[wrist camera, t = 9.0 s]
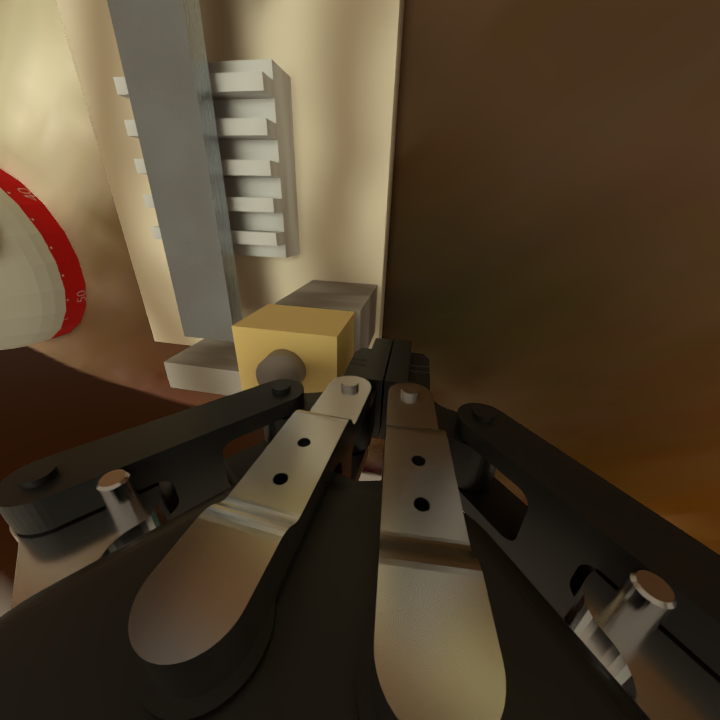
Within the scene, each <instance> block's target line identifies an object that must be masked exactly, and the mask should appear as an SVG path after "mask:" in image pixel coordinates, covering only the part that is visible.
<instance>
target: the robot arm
mask: <svg viewBox="0 0 720 720" xmlns="http://www.w3.org/2000/svg"><path fill="white" fill-rule="evenodd" d="M411 346H412V341H403V340H394V344H393V339H382V338H376V339H375V341H374V344H373V347H372V349H370V348H361V349H359V350H358V351H356V352H355V353H354V355H353V357H352V359H351V361H350V363H349V365H348V367H347V369H346V371H345V373H344V375H343V376H342V377H338V378H336V379H334V380H332V381H331V382H330V383H329V385H328V386H327V388H326V389H325V390H324V391H323V392H314V393H304V387H303V385H302V384H301V383H300V382H298V381H296V380H292V379H278V380H273V381H270V382H267V383H264V384H261V385H258V386H255V387H252V388H249V389H247V390H244V391H241V392H238V393H235V394H232V395H229V396H226V397H223V398H220V399H217V400H214V401H211V402H208V403H205V404H202V405H199V406H196V407H193V408H190V409H188V410H185V411H182V412H179V413H176V414H173V415H170V416H167V417H164V418H161V419H158V420H155V421H152V422H149V423H146V424H143V425H140V426H138V427H134V428H131V429H128V430H125V431H122V432H119V433H117V434H114V435H111V436H108V437H105V438H102V439H99V440H96V441H93V442H90V443H87V444H84V445H81V446H78V447H75V448H72V449H69V450H66V451H63V452H60V453H58V454H55V455H51V456H49V457H46V458H43V459H40V460H37V461H34V462H32V463H30V464H28V465H26V466H24V467H22V468H20V469H18V470H16V471H15V472H13V473H12V474H10V475H9V476H7V477H6V478H5V479H4V480H2V481H1V482H0V514H1V515H2V516H3V518H4V519H5V520H6V522H7V523H8V524H9V526H10V532H11V533H12V535H13V536H14V538H15V539H16V540H17V542H18V543H19V547H18V555H17V564H16V573H15V581H14V589H13V597H12V605H11V610H10V611H8V612H7V613H5V614H4V615H3V616H1V617H0V720H720V555H719V554H717V553H716V552H714V551H713V550H711V549H709V548H708V547H706V546H705V545H703V544H702V543H700V542H699V541H697V540H696V539H694V538H693V537H691V536H690V535H688V534H687V533H685V532H684V531H682V530H681V529H679V528H678V527H676V526H674V525H673V524H671V523H670V522H668V521H667V520H665V519H664V518H662V517H661V516H659V515H658V514H656V513H655V512H653V511H652V510H650V509H649V508H647V507H646V506H644V505H643V504H641V503H639V502H638V501H636V500H635V499H633V498H632V497H630V496H629V495H627V494H626V493H624V492H623V491H621V490H620V489H618V488H617V487H615V486H614V485H612V484H611V483H609V482H608V481H606V480H605V479H603V478H601V477H600V476H598V475H597V474H595V473H594V472H592V471H591V470H589V469H588V468H586V467H585V466H583V465H582V464H580V463H579V462H577V461H576V460H574V459H573V458H571V457H570V456H568V455H566V454H565V453H563V452H562V451H560V450H559V449H557V448H556V447H554V446H553V445H551V444H550V443H548V442H547V441H545V440H544V439H542V438H541V437H539V436H538V435H536V434H535V433H533V432H531V431H530V430H528V429H527V428H525V427H524V426H522V425H521V424H519V423H518V422H516V421H515V420H513V419H512V418H510V417H509V416H507V415H506V414H504V413H503V412H501V411H499V410H498V409H496V408H494V407H491V406H489V405H485V404H480V403H468V404H465V405H462V406H461V407H460V408H459V409H458V412H455V411H452V410H449V409H446V408H444V407H442V406H440V405H439V404H437V403H436V402H435V401H434V400H433V395H432V393H431V391H430V375H429V359H428V358H427V357H426V356H425V355H424V354H418V353H411ZM261 427H264V432H265V439H266V440H265V441H263V442H261V443H259V444H257V445H255V446H252V447H250V448H248V449H246V450H244V451H241V452H239V453H237V454H235V455H233V456H231V457H228V458H226V459H223V450H224V447H225V446H226V445H227V444H228V443H229V442H230V441H232V440H234V439H236V438H238V437H241V436H243V435H245V434H248V433H250V432H252V431H255V430H257V429H259V428H261ZM380 429H381V437H380V439H384V451H383V464H382V479H381V481H359V478H360V475H361V472H362V470H363V467H364V464H365V461H366V458H367V455H368V446H369V444H370V441H371V437H373V438H379V434H380ZM496 468H497V469H498V470H499V471H500V472H501V473H502V474H504V475H505V476H506V477H507V478H508V479H510V480H511V481H512V482H513V483H514V484H515V485H517V486H518V487H519V488H520V489H521V490H522V491H523V493H524V494H525V496H526V498H527V501H528V506H527V505H525V504H524V503H523V502H522V501H521V500H520V499H519V498H517V497H516V496H515V495H514V494H513V493H512V492H511V491H510V490H508V489H507V488H506V487H505V486H504V485H503V484H502V483H501V482H499V481H498V480H497V479H496V478H495V477H494V475H495V471H496ZM463 511H464V512H465V513H464V512H463Z"/></svg>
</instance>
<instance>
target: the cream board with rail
mask: <svg viewBox="0 0 720 720" xmlns="http://www.w3.org/2000/svg"><path fill="white" fill-rule="evenodd" d="M56 3H57V7H58V10H59V14H60V17H61V20H62V24H63V27H64V31H65V34H66V38H67V41H68V44H69V48H70V51H71V55H72V58H73V62H74V65H75V69H76V72H77V75H78V79H79V82H80V86H81V89H82V93H83V96H84V99H85V103H86V106H87V110H88V113H89V117H90V120H91V123H92V127H93V130H94V134H95V137H96V141H97V144H98V147H99V151H100V154H101V158H102V161H103V165H104V168H105V172H106V175H107V178H108V182H109V185H110V189H111V192H112V196H113V199H114V202H115V206H116V209H117V213H118V216H119V220H120V223H121V226H122V230H123V233H124V237H125V240H126V244H127V247H128V251H129V254H130V257H131V261H132V264H133V268H134V271H135V275H136V278H137V281H138V285H139V288H140V292H141V295H142V299H143V302H144V305H145V309H146V312H147V316H148V319H149V323H150V326H151V329H152V333H153V336H154V340H155V341H158V342H166V343H175V344H183V345H192V346H190V347H189V348H187V349H185V350H183V351H182V352H180V353H178V354H177V355H175V356H173V357H171V358H170V359H168V360H166V361H164V365H165V369H166V372H167V376H168V379H169V383H170V386H171V387H173V388H180V389H187V390H194V391H201V392H208V393H215V394H222V395H228V396H229V395H232V394H235V393H238V392H241V391H242V387H241V381H240V375H239V369H238V363H237V356H236V350H235V344H234V342H230V341H221V340H212V339H204V338H195V337H186V336H184V332H183V328H182V324H181V319H180V315H179V311H178V306H177V302H176V298H175V293H174V289H173V285H172V280H171V276H170V272H169V267H168V263H167V259H166V254H165V250H164V246H163V241H162V237H161V233H160V228H159V224H158V220H157V215H156V211H155V207H154V202H153V198H152V194H151V189H150V185H149V181H148V176H147V172H146V168H145V163H144V159H143V155H142V150H141V146H140V142H139V137H138V133H137V129H136V124H135V120H134V116H133V111H132V107H131V103H130V98H129V94H128V90H127V85H126V81H125V77H124V72H123V68H122V64H121V59H120V55H119V50H118V46H117V42H116V37H115V33H114V29H113V24H112V20H111V16H110V11H109V7H108V3H107V0H56ZM404 4H405V0H199V5H200V12H201V19H202V27H203V34H204V41H205V48H206V56H207V63H208V70H209V77H210V85H211V92H212V99H213V106H214V114H215V121H216V128H217V135H218V143H219V150H220V157H221V164H222V172H223V179H224V186H225V193H226V200H227V208H228V215H229V222H230V229H231V237H232V244H233V251H234V258H235V266H236V273H237V280H238V287H239V295H240V302H241V309H242V316H243V319H244V318H246V317H247V316H249V315H251V314H252V313H254V312H256V311H257V310H259V309H261V308H263V307H264V306H266V305H268V304H276V305H287V306H298V307H309V308H320V309H331V310H342V311H354V312H355V327H354V353H355V352H356V351H358V350H359V349H361V348H370V349H372V347H373V344H374V341H375V339H376V338H382V328H383V313H384V298H385V284H386V269H387V254H388V239H389V225H390V210H391V195H392V181H393V166H394V151H395V137H396V122H397V107H398V92H399V78H400V63H401V48H402V34H403V19H404Z"/></svg>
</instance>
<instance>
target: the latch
mask: <svg viewBox="0 0 720 720" xmlns="http://www.w3.org/2000/svg"><path fill="white" fill-rule="evenodd" d="M354 327H355V312H354V311H342V310H331V309H320V308H309V307H298V306H287V305H276V304H268V305H266V306H264V307H263V308H261V309H259V310H257V311H256V312H254V313H252V314H251V315H249V316H247V317H246V318H244V319H242V320H241V321H239V322H237V323H236V324H234V325H232V332H233V338H234V344H235V350H236V356H237V363H238V369H239V375H240V381H241V387H242V391H244V390H247V389H249V388H252V387H255V386H258V385H261V384H264V383H267V382H270V381H273V380H278V379H292V380H296V381H298V382H300V383H301V384H302V385H303V387H304V393H314V392H323V391H324V390H325V389H326V388H327V386H328V385H329V383H330V382H331V381H332V380H334V379H336V378H338V377H342V376H343V375H344V373H345V371H346V369H347V367H348V365H349V363H350V361H351V359H352V357H353V355H354Z"/></svg>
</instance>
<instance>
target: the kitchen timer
mask: <svg viewBox="0 0 720 720" xmlns="http://www.w3.org/2000/svg"><path fill="white" fill-rule="evenodd" d="M85 307H86V292H85V282H84V278H83V275H82V271H81V268H80V264H79V261H78V258H77V256H76V254H75V252H74V250H73V248H72V246H71V244H70V242H69V240H68V238H67V236H66V234H65V232H64V231H63V230H62V228H61V227H60V225H59V224H58V223H57V221H56V220H55V219H54V217H53V216H52V215H51V213H50V212H49V211H48V209H47V208H46V207H45V205H44V204H43V203H42V202H41V201H40V200H39V199H38V198H37V197H35V196H34V195H33V194H32V193H31V192H30V191H29V190H28V189H27V188H26V187H25V186H24V185H23V184H22V183H21V182H20V181H18V180H17V179H15V178H14V177H12V176H10V175H9V174H7V173H6V172H4V171H3V170H1V169H0V350H3V349H11V348H18V347H23V346H28V345H32V344H36V343H39V342H43V341H46V340H49V339H52V338H55V337H58V336H61V335H64V334H67V333H70V332H71V331H72V330H73V329H74V328H75V327H76V326H77V325H78V324H79V323H80V322H81V319H82V316H83V313H84V310H85Z"/></svg>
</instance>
